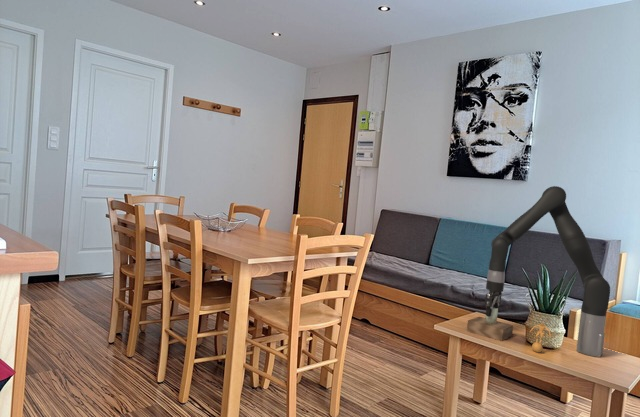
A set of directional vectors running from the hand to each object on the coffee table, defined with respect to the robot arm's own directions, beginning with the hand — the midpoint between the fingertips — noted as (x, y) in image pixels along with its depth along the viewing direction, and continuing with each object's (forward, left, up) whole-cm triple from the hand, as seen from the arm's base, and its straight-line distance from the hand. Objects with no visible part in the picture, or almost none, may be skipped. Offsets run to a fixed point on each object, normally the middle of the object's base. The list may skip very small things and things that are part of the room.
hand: (491, 315), depth 208 cm
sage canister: (0, 0, -4) cm, 4 cm away
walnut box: (0, 0, -9) cm, 9 cm away
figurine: (-23, +8, -9) cm, 26 cm away
